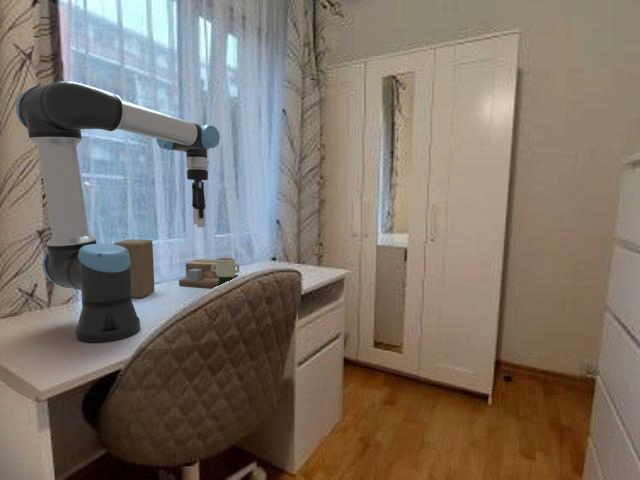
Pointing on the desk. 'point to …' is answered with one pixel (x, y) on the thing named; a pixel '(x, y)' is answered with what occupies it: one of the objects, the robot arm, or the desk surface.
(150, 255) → the wooden block
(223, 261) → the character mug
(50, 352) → the desk surface
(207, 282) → the walnut stand
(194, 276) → the grey cube
